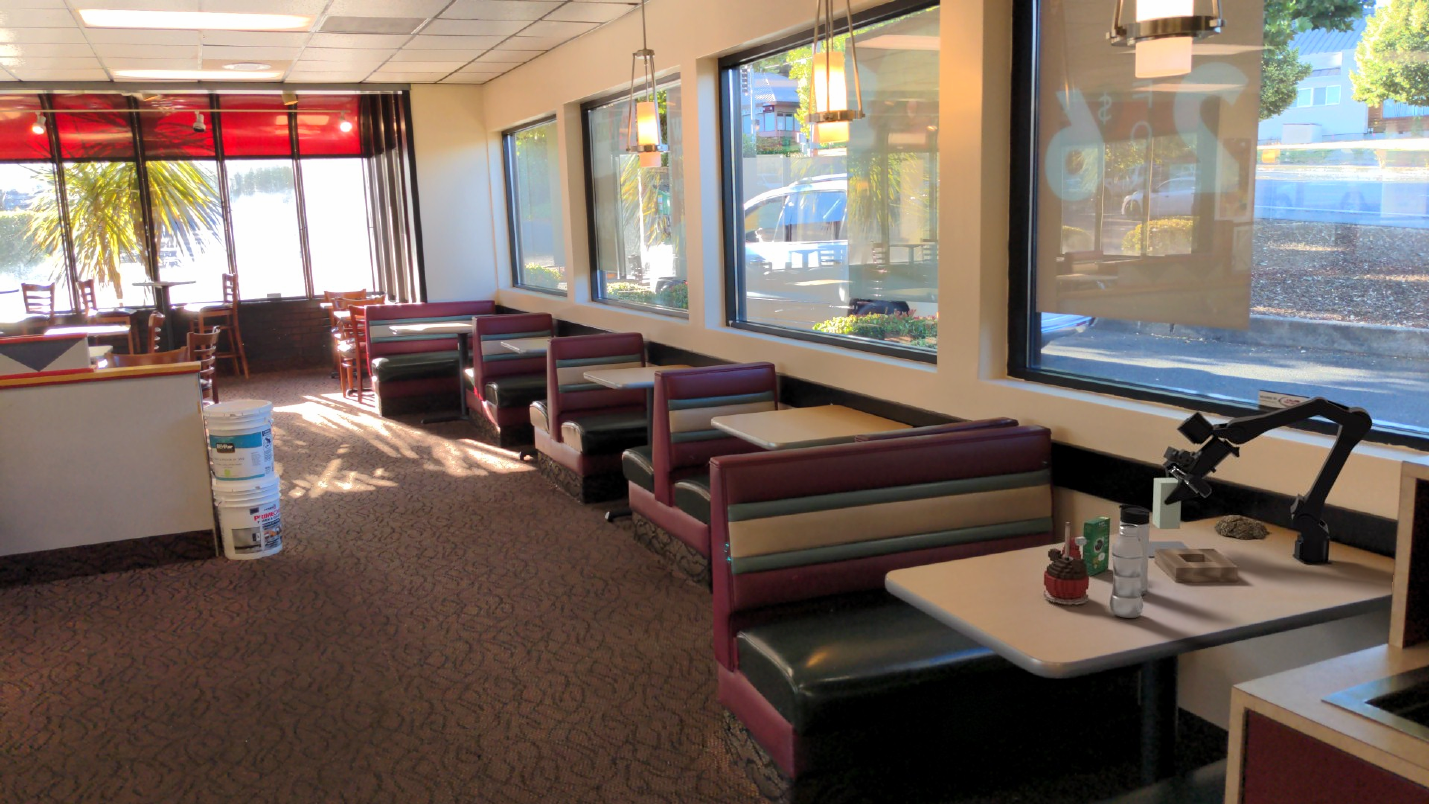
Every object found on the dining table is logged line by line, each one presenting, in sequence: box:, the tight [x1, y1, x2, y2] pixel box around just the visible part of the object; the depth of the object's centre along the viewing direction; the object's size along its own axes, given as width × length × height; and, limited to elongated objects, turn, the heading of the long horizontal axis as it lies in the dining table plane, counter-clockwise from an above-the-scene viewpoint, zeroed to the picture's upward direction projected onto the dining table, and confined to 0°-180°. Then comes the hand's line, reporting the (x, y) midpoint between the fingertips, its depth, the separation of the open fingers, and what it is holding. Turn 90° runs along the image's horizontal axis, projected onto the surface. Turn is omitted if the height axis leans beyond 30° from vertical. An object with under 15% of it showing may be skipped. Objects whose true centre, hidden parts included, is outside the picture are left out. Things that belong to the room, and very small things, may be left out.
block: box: [1152, 477, 1182, 530], centre depth 262 cm, size 5×5×12 cm
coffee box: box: [1081, 515, 1111, 577], centre depth 249 cm, size 8×3×13 cm, turn 129°
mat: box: [1148, 540, 1190, 559], centre depth 264 cm, size 12×12×1 cm
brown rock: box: [1214, 514, 1268, 541], centre depth 276 cm, size 13×12×5 cm
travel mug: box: [1118, 503, 1151, 596], centre depth 234 cm, size 6×7×20 cm
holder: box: [1154, 548, 1239, 583], centre depth 247 cm, size 14×14×4 cm
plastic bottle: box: [1109, 524, 1144, 619], centre depth 220 cm, size 6×7×20 cm
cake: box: [1043, 521, 1090, 605], centre depth 230 cm, size 11×9×18 cm
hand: (1161, 501), depth 262 cm, fingers closed on block, 5 cm apart
